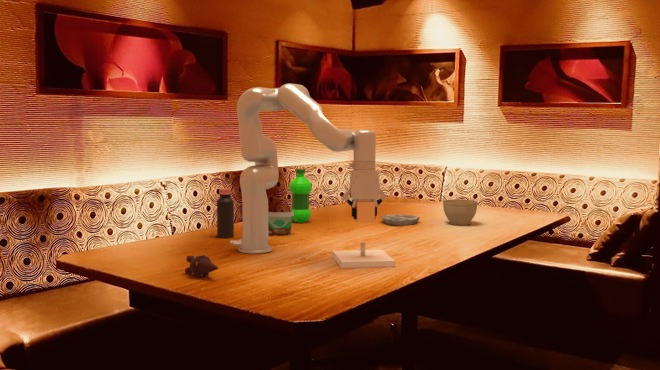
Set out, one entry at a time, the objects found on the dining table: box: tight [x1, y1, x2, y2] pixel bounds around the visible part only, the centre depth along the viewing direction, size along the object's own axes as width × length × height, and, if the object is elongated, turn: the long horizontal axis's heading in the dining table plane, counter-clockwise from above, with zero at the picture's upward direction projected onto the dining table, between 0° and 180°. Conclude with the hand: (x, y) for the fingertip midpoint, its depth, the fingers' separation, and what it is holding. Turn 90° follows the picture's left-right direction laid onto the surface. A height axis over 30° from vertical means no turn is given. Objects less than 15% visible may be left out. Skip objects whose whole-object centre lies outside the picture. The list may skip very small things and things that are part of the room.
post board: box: [332, 241, 396, 269], centre depth 222 cm, size 18×18×6 cm
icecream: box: [184, 254, 219, 278], centre depth 199 cm, size 7×7×15 cm
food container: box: [268, 210, 294, 237], centre depth 269 cm, size 12×6×10 cm, turn 105°
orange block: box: [353, 200, 376, 224], centre depth 220 cm, size 6×6×7 cm
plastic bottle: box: [289, 168, 313, 224], centre depth 301 cm, size 10×10×25 cm
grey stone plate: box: [380, 214, 421, 227], centre depth 303 cm, size 20×17×3 cm
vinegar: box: [216, 187, 235, 239], centre depth 262 cm, size 7×7×20 cm
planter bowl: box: [442, 198, 479, 226], centre depth 301 cm, size 16×16×11 cm
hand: (364, 217), depth 220 cm, fingers closed on orange block, 5 cm apart
